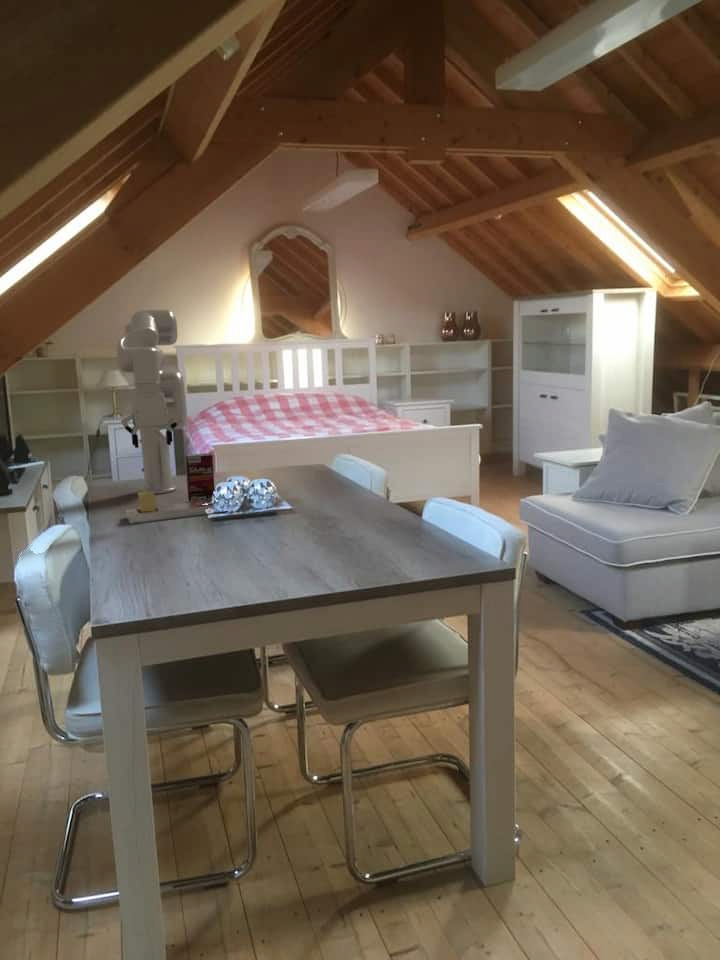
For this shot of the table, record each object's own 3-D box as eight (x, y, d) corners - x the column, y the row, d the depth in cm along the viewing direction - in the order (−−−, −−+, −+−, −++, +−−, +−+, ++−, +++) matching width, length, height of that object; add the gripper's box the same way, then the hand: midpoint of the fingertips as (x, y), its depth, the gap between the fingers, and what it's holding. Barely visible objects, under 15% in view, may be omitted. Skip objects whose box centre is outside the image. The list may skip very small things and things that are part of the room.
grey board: (126, 517, 252) (125, 509, 251) (221, 506, 263) (221, 498, 262) (130, 523, 243) (129, 514, 243) (228, 511, 254) (227, 503, 254)
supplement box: (190, 504, 268) (186, 456, 265) (188, 501, 272) (184, 454, 269) (216, 501, 270) (212, 454, 267) (214, 498, 275) (210, 452, 272)
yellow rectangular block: (139, 517, 251) (137, 492, 249) (154, 515, 252) (152, 490, 251) (141, 520, 247) (139, 494, 245) (156, 518, 248) (154, 493, 247)
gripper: (174, 387, 249) (179, 442, 252) (116, 390, 242) (121, 447, 245) (179, 388, 242) (184, 444, 245) (120, 391, 236) (125, 449, 238)
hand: (152, 446), depth 245 cm, fingers open, 9 cm apart
